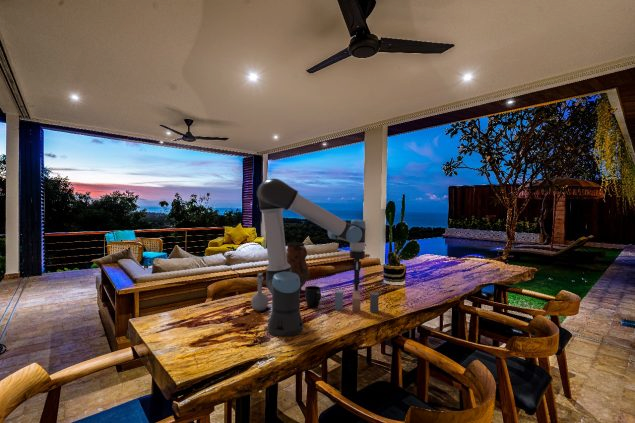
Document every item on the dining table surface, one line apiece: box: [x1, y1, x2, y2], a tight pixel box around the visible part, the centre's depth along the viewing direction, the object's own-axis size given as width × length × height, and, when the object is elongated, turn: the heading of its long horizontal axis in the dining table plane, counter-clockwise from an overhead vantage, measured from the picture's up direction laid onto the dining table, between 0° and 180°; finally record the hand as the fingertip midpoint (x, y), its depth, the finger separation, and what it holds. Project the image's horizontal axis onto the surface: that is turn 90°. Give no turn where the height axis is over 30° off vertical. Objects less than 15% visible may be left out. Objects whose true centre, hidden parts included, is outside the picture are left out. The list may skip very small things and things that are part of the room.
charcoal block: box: [369, 291, 380, 314], centre depth 151 cm, size 4×4×9 cm
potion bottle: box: [250, 272, 269, 312], centre depth 152 cm, size 9×9×18 cm
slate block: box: [334, 289, 344, 311], centre depth 153 cm, size 4×4×9 cm
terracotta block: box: [351, 292, 362, 312], centre depth 150 cm, size 4×4×9 cm
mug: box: [304, 285, 322, 308], centre depth 156 cm, size 8×12×10 cm
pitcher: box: [286, 242, 310, 295], centre depth 180 cm, size 17×21×30 cm
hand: (356, 296), depth 152 cm, fingers closed
